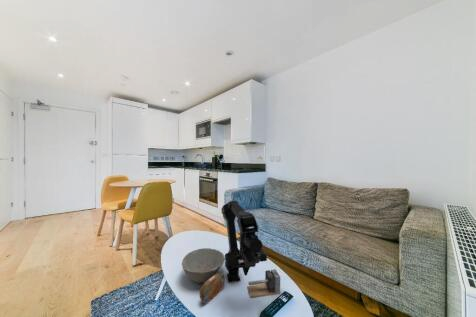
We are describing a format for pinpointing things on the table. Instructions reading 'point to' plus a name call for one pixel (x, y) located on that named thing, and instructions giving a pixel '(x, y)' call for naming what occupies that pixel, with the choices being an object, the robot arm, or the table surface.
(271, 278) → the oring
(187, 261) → the ceramic bowl
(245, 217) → the robot arm
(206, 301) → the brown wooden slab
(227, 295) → the table surface
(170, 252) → the table surface
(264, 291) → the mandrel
